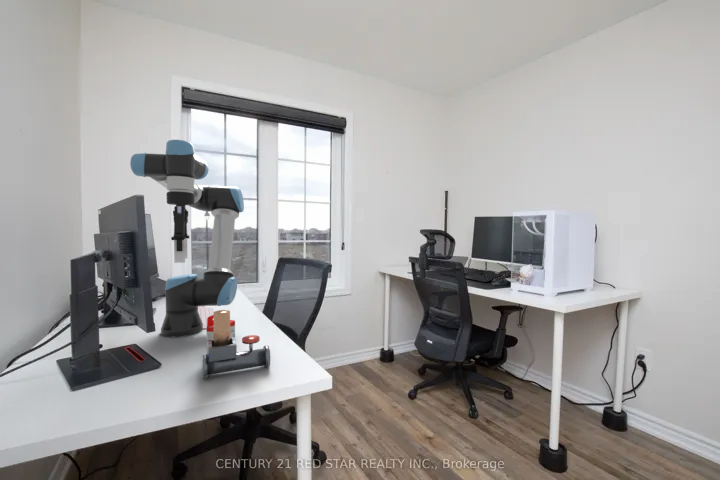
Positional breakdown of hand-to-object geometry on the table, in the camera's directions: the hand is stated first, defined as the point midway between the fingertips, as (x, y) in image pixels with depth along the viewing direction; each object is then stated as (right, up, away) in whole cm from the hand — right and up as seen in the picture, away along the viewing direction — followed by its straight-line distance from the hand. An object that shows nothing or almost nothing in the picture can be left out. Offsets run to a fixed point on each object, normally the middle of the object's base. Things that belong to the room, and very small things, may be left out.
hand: (181, 260), depth 100 cm
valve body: (+19, -33, -4) cm, 38 cm away
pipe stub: (+15, -27, -6) cm, 31 cm away
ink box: (+10, -33, +6) cm, 35 cm away
